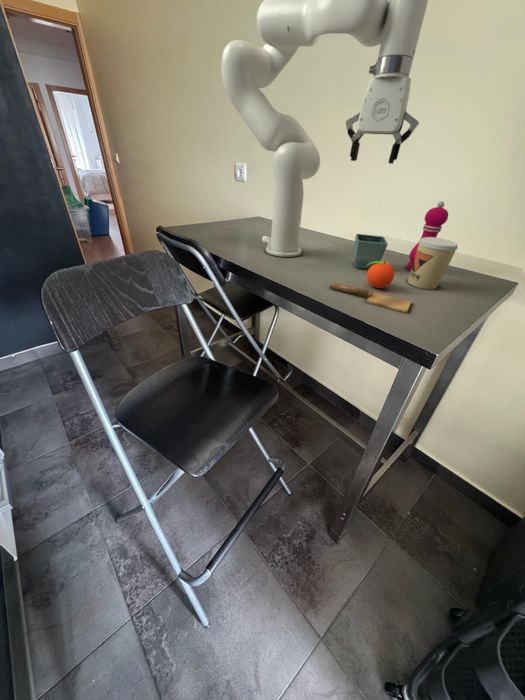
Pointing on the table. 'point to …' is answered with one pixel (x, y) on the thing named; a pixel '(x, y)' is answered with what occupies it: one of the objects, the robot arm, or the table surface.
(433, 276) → the coffee cup
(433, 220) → the pepper mill
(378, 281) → the clementine
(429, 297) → the table surface
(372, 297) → the spatula
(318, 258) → the table surface
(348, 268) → the table surface
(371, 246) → the flower pot
